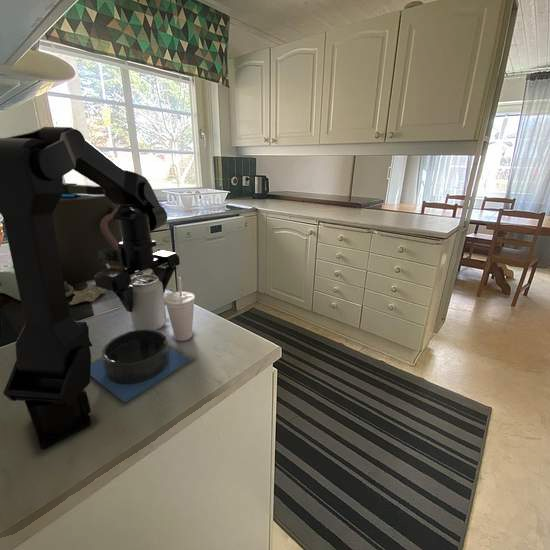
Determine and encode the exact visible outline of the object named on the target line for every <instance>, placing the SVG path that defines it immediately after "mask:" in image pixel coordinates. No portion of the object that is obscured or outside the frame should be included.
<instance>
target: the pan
mask: <svg viewBox="0 0 550 550" xmlns="http://www.w3.org/2000/svg"><path fill="white" fill-rule="evenodd" d="M168 344H169V343H168V339H167V336H166V335H165V334H164V333H162V332H161V331H158V330H137V329H135V330H132V331H131V330H130V331H127V332H124V333H122V334H119V335H117V336H115V337H113V338H112V339H110V340H109V341H108V342H107V343H106V344H105V345H104V346H103V348H102V349H101V360H103V364H104V369H105V373H106V376H107V378H108V379H109V380H111V381H112V382H114V383H118V384H136V383H140V382H144V381H147V380H149V379H151V378H153V377H155V376H157V375H158V374H160V373H161V372H162V371H163V370H164V369H165V368H166V367H167V365H168V362H169V352H168V347H169V346H168Z"/></svg>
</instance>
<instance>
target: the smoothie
mask: <svg viewBox="0 0 550 550" xmlns="http://www.w3.org/2000/svg"><path fill="white" fill-rule="evenodd" d="M177 283H178V284H177V285H178V291H175V292H171V293H168V294H167V295H166V296H164V304H165V307H166V309H167V310H166V311H167V313H168V317H169V320H170V324H171V328H172V332H173V335H174V339H175V340H176V341H178V342H179V341H180V342H183V341H187V340H190V339H191V338H192V336H193V325H194V324H193V323H194V303H195V302H196V295H195V294H194V293H193V292H191V291H186V290H184V291H183V289H182V279H181V276H177Z"/></svg>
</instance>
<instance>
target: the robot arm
mask: <svg viewBox="0 0 550 550" xmlns="http://www.w3.org/2000/svg"><path fill="white" fill-rule="evenodd" d="M71 171H75V172H77V173H78V174H80V175H81V176H83V177H85V178H86V179H88V180H89V181H90V182H93V183H94V184H96V185H97V186H101V187H102V188H103V189H104V195H105V196H106V197H107V198H108V199H109V200H111V201H112V202H113V203H114V204H117V205H120V206H121V207H119V208H118V210H117V212H116V213H114V215H113V219H114V220H119V224H120V230H121V237H122V242H120V243H118V250H115V251H111V250H110V248H106V249H103V250H99V251H98V255H99V260H100V262H101V264H103V265H105V264H108V263H109V266H110V267H112V266H114V265H116V264H119V266H121V267H124V266H126V267H127V268H126V269H124V270H118V269H114V268H110V269H107V270H104V271H101V272H99V273H97V274H96V275H95V277H94V280H93V281H94V285H96V287H100V288H103V289H107V291H111V292H113V293H114V295H116V297H117V298H118V299H119V301H120V303H121V304H122V305H123V307H124V309H125V311H127V313H131V312H132V309H133V286H131V285H130V283H131V277H132V276H136V275H137V274H140V273H142V272H143V273H146V272H147V271H150V270H151V272H152V271H153V272H154V274H155V276H158V278H159V281H161V282H162V285H163V293H164V294H165V292H166V289H167V288H168V284H169V282H170V279H171V278H172V276H173V274H174V272H175V271H176V270H177V266H180V265H181V263H180V256H179V255H178V254H177V253H176V252H172V251H167V250H159V251H157V252H154V250H153V248H154V247H157V241H156V240H152V233H151V232H153V231H155V230H157V229H159V228H161V227H163V226H164V225H165V224H166V223H167V221H168V213H167V211H166V209H165V208H164V207H163V206H162V205H161V203H160V201H159V200H158V198H157V196H156V194H155V191H154V189H153V186H152V185H151V183H150V182H149V180H148V179H147V177H145V176H143V175H141V174H139V173H137V172H134V171H130V170H127V169H124V168H122V167H120V165H118V164H117V163H116V162H114V161H113V160H112V159H111V158H109V157H108V156H107V155H105V154H104V153H103V152H101V150H99V149H98V148H97V147H95V146H94V145H93V144H92V143H90V142H89V141H88V140H87V139H86V138H85V137H84V134H83V133H82V132H81V131H80V130H78V129H76V128H74V127H72V126H69V127H68V126H43V127H41V128H38V129H35V130H33V131H31V132H27V133H22V134H17V135H11V136H7V137H0V215H1V216H2V219H3V224H4V228H5V234H6V238H7V243H8V248H9V252H10V257H11V262H12V266H13V267H14V271H15V276H16V281H17V286H18V290H19V295H20V300H21V301H20V300H19V301H20V304H21V309H22V314H23V317H24V326H23V327H22V329H21V332H20V333H19V335H18V337H17V338H16V341H15V362H14V364H13V367H12V369H11V373H10V375H9V377H8V380H7V382H6V384H5V387H4V390H3V396H5V397H6V398H7V399H8V400H9V401H12V402H17V401H20V402H24V404H25V406H26V410H27V412H28V414H29V417H30V421H31V422H30V423H31V426H32V429H33V433H34V435H35V438H36V441H37V445H38V447H39V449H40V450H44V449H46V448H48V447H50V446H53V445H54V444H57V443H58V442H60V441H62V440H64V439H66V438H68V437H70V436H72V435H74V434H76V433H78V432H79V431H81V430H84V429H85V428H87V427H89V426H91V425H92V424H93V423H92V422H93V421H92V419H91V417H90V415H89V414H91V412H92V410H91V406H90V402H89V401H90V400H89V398H88V393H87V391H86V388H87V387H88V386H89V385H90V383H91V376H90V371H91V365H92V353H91V348H92V347H93V344H92V341H91V339H90V338H91V337H90V332H89V331H90V328H89V327H90V326H89V324H88V323H87V322H86V321H79V320H74V319H73V317H71V315H70V311H69V305H68V298H66V293H67V292H66V291H65V286H64V280H63V275H62V269H61V263H60V257H59V251H58V245H57V239H56V233H55V227H54V221H53V212H54V210H55V208H56V206H57V204H58V202H59V200H60V198H61V196H62V194H63V183H64V177H63V176H65V175H67V174H69V173H70V172H71ZM90 347H91V348H90Z"/></svg>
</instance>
